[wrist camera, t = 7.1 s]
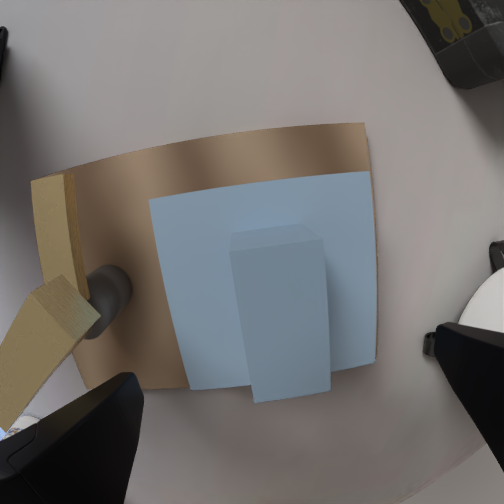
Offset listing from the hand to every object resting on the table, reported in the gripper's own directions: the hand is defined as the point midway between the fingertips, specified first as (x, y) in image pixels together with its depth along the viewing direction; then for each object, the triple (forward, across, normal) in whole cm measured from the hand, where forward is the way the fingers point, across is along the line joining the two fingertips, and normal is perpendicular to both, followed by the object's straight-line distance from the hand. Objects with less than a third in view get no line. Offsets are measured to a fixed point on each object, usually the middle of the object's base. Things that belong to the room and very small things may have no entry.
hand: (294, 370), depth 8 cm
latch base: (+12, +4, 0) cm, 13 cm away
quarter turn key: (+6, +10, -2) cm, 12 cm away
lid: (+8, 0, 0) cm, 8 cm away
